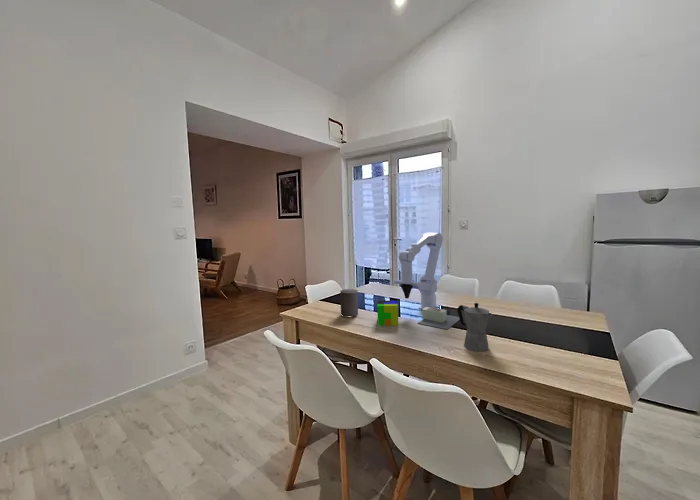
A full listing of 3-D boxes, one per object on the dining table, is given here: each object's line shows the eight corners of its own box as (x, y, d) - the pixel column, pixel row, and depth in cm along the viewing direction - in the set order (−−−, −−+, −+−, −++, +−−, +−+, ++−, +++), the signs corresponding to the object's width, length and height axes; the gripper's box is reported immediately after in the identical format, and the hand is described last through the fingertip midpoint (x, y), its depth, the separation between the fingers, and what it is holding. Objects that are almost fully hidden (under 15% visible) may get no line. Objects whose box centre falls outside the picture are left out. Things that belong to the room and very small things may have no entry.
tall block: (426, 306, 160) (446, 309, 154) (426, 316, 161) (446, 319, 154) (422, 308, 157) (442, 312, 150) (422, 318, 157) (442, 322, 150)
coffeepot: (498, 349, 118) (499, 304, 117) (484, 356, 113) (484, 308, 112) (464, 337, 131) (464, 296, 130) (450, 343, 126) (450, 300, 124)
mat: (434, 313, 166) (434, 312, 166) (461, 318, 157) (461, 317, 157) (417, 323, 151) (417, 323, 151) (447, 329, 141) (447, 328, 141)
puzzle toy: (397, 319, 159) (396, 300, 158) (398, 325, 149) (398, 305, 148) (378, 319, 160) (377, 300, 159) (377, 325, 150) (377, 305, 149)
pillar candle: (338, 317, 165) (337, 290, 164) (344, 311, 175) (343, 286, 173) (355, 318, 163) (355, 290, 161) (360, 312, 172) (359, 286, 170)
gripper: (391, 273, 164) (391, 297, 166) (415, 275, 155) (416, 301, 157) (397, 271, 170) (398, 295, 171) (421, 273, 161) (422, 298, 162)
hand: (407, 298), depth 164 cm, fingers closed
